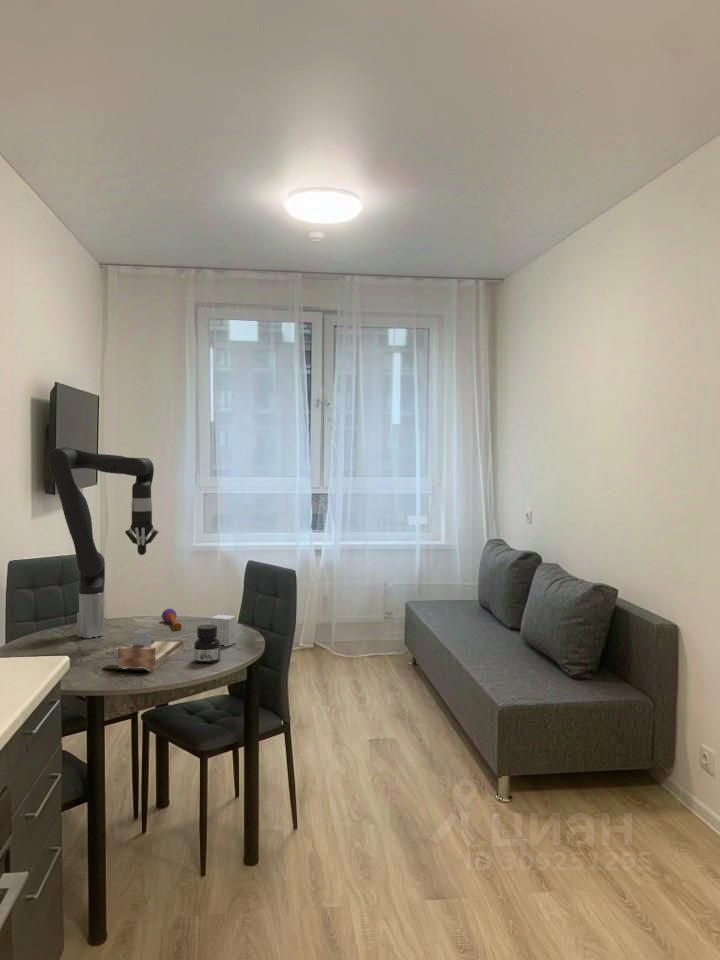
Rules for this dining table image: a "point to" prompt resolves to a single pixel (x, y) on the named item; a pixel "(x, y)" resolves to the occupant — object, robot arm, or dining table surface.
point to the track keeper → (142, 638)
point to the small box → (225, 629)
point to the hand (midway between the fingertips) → (142, 554)
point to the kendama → (171, 618)
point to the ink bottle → (207, 645)
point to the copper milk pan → (147, 655)
